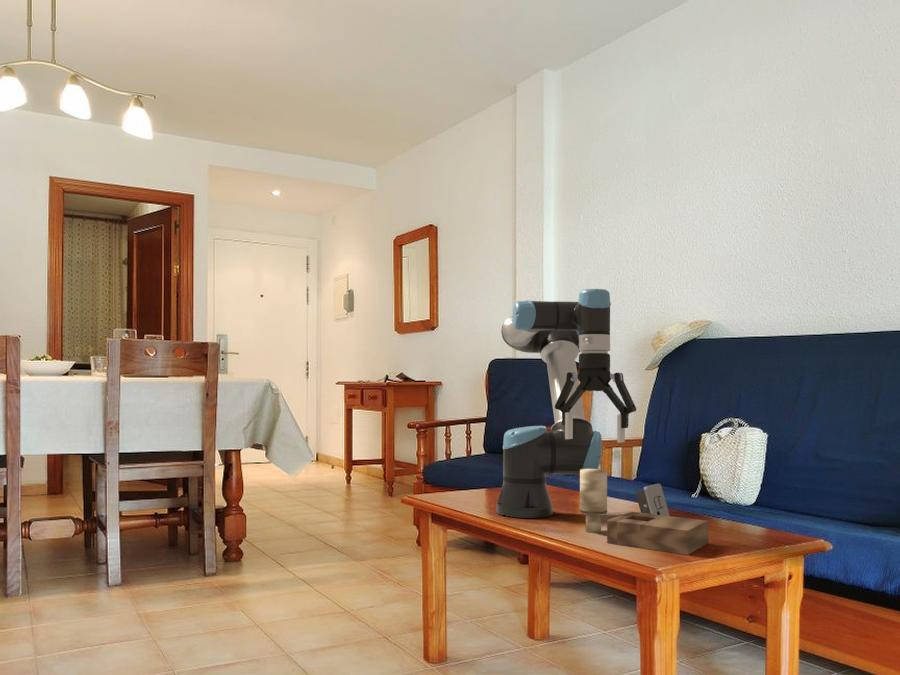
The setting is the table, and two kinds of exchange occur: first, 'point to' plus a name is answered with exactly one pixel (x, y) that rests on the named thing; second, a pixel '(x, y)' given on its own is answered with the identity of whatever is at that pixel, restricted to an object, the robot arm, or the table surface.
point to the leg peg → (593, 497)
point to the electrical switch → (652, 500)
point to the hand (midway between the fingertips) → (594, 440)
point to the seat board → (658, 532)
